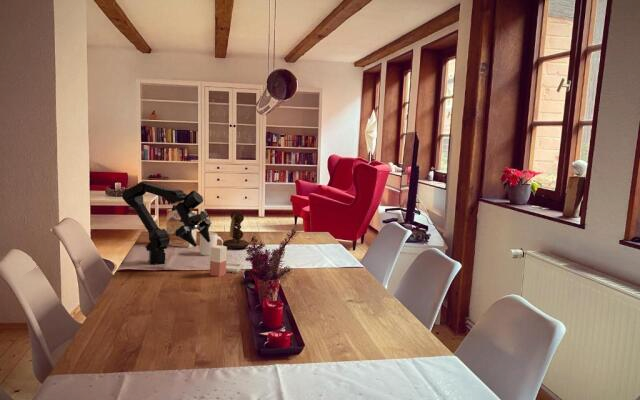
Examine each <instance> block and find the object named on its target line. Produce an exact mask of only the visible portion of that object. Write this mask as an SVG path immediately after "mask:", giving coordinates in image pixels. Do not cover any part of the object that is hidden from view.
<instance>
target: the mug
mask: <svg viewBox="0 0 640 400" xmlns="http://www.w3.org/2000/svg"><path fill="white" fill-rule="evenodd" d="M209 237H210V242H207V241H206V240H205V238H204V237H203V236H202V235H201V234H200V233H199V255H201V256H205V257H207V256H208V257H210V254H211V247H212V246H216V245H218V241H219V240H220V241H221V246H223V242H224V240H223V239H222V237H220V236H219V235H218V233H217V232H212V231H209Z"/></svg>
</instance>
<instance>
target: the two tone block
mask: <svg viewBox="0 0 640 400" xmlns="http://www.w3.org/2000/svg"><path fill="white" fill-rule="evenodd" d="M227 251H228V247H227V246H222V245H218V244H217V245H216V246H212V247H211V254H210V256H209V257H210V260H209V261H210V262H209V275H210V276H215V277H222V276H224V275H226V273H227V272H226V263H227Z"/></svg>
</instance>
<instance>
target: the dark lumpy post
mask: <svg viewBox="0 0 640 400" xmlns="http://www.w3.org/2000/svg"><path fill="white" fill-rule="evenodd" d="M230 218H231V221H230V227H229V236H230V238H232V239H226V240H223V246H227V248H228V249H230V250H231V249H232V248H234V249H235V248H239V249H240V248H246V247H247V246H248V245H249V246H250V242H249V241H247V240H244V239H243V237H244V231H242V229H241V228H242V223H243V221H244V219H245V217H244V215H243V213H242V212H241V213H240V212H239V211H236V210H233V211H232V212H231V213H230ZM249 246H248V247H249Z"/></svg>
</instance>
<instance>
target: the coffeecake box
mask: <svg viewBox="0 0 640 400" xmlns="http://www.w3.org/2000/svg"><path fill="white" fill-rule="evenodd" d="M171 210H172V208H171V209H170V208H169V209H166V229H165V230H166V232H167V234H168V235H169V238H170V242H169V244H168V246H173V247H179V248H188V249H190V248H193V247H194V246H193V245H191V244H190V243H189V242H187V241H185V240H184V239H182V238H179V237H177V236H176V234H175V231H176V230H177V229H178V228H180V227H181V226H184V223H183V222H180V220H181V218H180V216H179V214H178V213H177V211H171ZM191 211H192V213H194V212H195V213H196V215H198V211H196V210H191ZM192 236H193V238H194V240H195V242H196V243H197V229H194V230H192Z"/></svg>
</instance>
